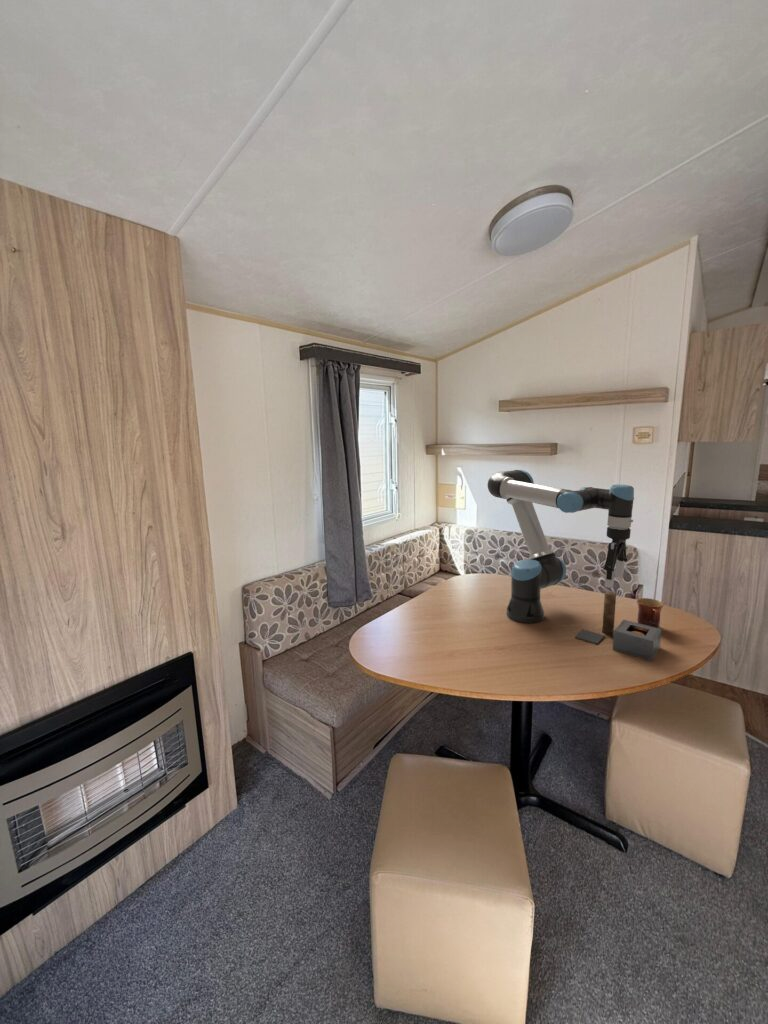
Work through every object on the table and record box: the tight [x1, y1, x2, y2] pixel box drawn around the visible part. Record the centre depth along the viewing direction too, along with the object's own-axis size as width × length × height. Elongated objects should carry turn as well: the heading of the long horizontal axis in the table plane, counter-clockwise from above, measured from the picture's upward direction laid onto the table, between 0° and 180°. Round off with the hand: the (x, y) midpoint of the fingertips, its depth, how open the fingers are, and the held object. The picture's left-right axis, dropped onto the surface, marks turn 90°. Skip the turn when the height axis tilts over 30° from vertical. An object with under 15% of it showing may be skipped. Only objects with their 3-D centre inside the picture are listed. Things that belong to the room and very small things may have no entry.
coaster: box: [574, 628, 605, 646], centre depth 156 cm, size 8×8×1 cm
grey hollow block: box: [612, 619, 662, 662], centre depth 146 cm, size 12×12×7 cm
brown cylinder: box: [601, 591, 617, 636], centre depth 157 cm, size 4×4×16 cm
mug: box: [636, 597, 664, 629], centre depth 160 cm, size 12×9×10 cm
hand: (614, 582), depth 155 cm, fingers open, 13 cm apart
